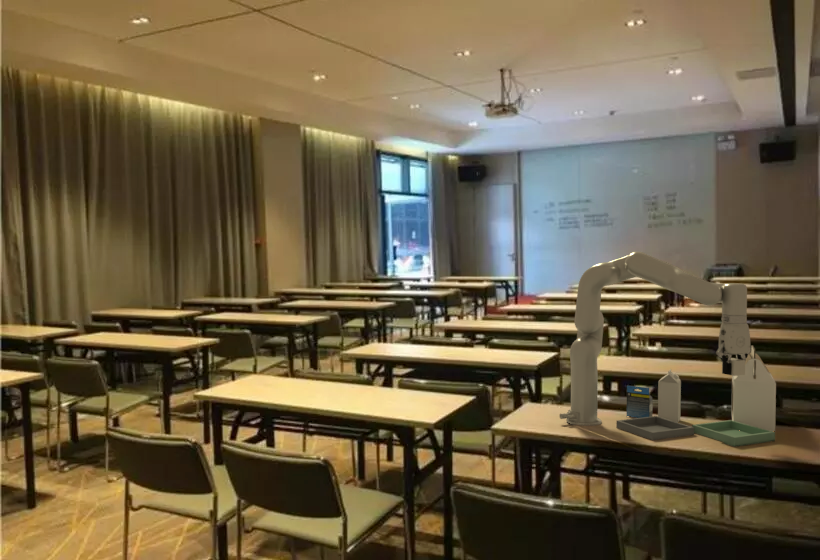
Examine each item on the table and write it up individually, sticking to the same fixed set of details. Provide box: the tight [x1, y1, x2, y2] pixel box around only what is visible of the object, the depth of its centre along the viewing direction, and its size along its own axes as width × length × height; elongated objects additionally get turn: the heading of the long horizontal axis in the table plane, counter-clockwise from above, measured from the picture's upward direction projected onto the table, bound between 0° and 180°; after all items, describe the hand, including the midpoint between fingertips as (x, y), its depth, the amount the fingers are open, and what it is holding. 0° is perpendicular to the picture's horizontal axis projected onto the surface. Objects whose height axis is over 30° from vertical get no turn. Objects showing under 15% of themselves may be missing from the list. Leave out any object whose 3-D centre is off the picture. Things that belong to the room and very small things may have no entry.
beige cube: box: [721, 357, 745, 377], centre depth 228 cm, size 5×5×5 cm
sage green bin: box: [691, 419, 776, 448], centre depth 229 cm, size 18×18×3 cm
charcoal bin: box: [615, 415, 695, 441], centre depth 235 cm, size 18×18×3 cm
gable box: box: [731, 345, 777, 432], centre depth 247 cm, size 22×13×28 cm, turn 156°
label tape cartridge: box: [626, 384, 653, 418], centre depth 256 cm, size 9×4×12 cm, turn 51°
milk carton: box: [657, 368, 682, 423], centre depth 251 cm, size 7×7×19 cm
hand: (733, 373), depth 228 cm, fingers closed on beige cube, 5 cm apart
